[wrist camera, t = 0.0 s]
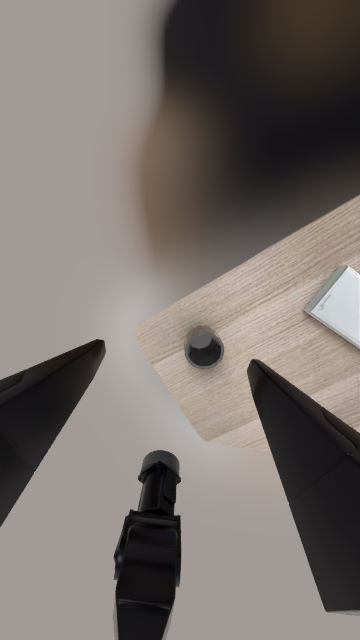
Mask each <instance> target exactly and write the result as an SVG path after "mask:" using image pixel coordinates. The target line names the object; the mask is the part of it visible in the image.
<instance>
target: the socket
mask: <svg viewBox="0 0 360 640" xmlns="http://www.w3.org/2000/svg"><path fill="white" fill-rule="evenodd" d="M223 355H224V345H223V343H222V341H221V340H220V338H219V337H218V335H217V334H216V333H215V332H214V331H213V330H212V329H211V328H209V327H206V326H197V327H194V328H193V329H191V330H190V331H189V332H188V333H187V335H186V337H185V356H186V358H187V360H188V362H189V363H190V364H191V365H193V366H194V367H196V368H200V369H209V368H212V367H214V366H216V365H217V364H218V363H219V362H220V361H221V360H222V357H223Z"/></svg>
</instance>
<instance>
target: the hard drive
mask: <svg viewBox="0 0 360 640" xmlns="http://www.w3.org/2000/svg"><path fill="white" fill-rule="evenodd" d="M304 311H305V312H306V313H308V314H309V315H311V316H312V317H314V318H315V319H317V320H318V321H319V322H321V323H322V324H324V325H325V326H327V327H328V328H330V329H331V330H333V331H334V332H336V333H337V334H339V335H340V336H342V337H343V338H344V339H346V340H347V341H349V342H350V343H352V344H353V345H355V346H356V347H358V348H359V349H360V274H359V273H357V272H356V271H355V270H353V269H352V268H351V267H349V266H340V267H339V268H338V269H337V270H336V271H335V272H334V274H333V275H332V276H331V277H330V278H329V280H328V281H327V282H326V283H325V284H324V286H323V287H322V288H321V289H320V290H319V292H318V293H317V294H316V295H315V297H314V298H313V299H312V300H311V301H310V303H309V304H308V305H307V306H306V308H305V309H304Z"/></svg>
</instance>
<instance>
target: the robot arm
mask: <svg viewBox="0 0 360 640" xmlns="http://www.w3.org/2000/svg"><path fill="white" fill-rule="evenodd" d="M105 353H106V349H105V342H104V340H99V339H96V340H94V341H91V342H89V343H87V344H85V345H82V346H80V347H77V348H75V349H73V350H70V351H68V352H66V353H63V354H61V355H59V356H56V357H54V358H51V359H50V360H47V361H45V362H42V363H40V364H37V365H35V366H33V367H30V368H28V369H26V370H24V371H21V372H19V373H17V374H14V375H11V376H9V377H7V378H4V379H2V380H0V526H1V525H2V524H3V522H4V520H5V519H6V517H7V515H8V514H9V512H10V511H11V509H12V508H13V506H14V504H15V503H16V501H17V500H18V498H19V497H20V495H21V493H22V492H23V490H24V488H25V487H26V485H27V484H28V482H29V481H30V479H31V477H32V475H33V474H34V472H35V471H36V469H37V468H38V466H39V464H40V463H41V461H42V460H43V458H44V456H45V455H46V453H47V452H48V450H49V448H50V447H51V445H52V444H53V442H54V440H55V439H56V437H57V436H58V434H59V432H60V431H61V429H62V427H63V426H64V424H65V423H66V421H67V420H68V418H69V416H70V414H71V413H72V412H73V410H74V409H75V407H76V405H77V404H78V402H79V401H80V399H81V397H82V396H83V394H84V393H85V391H86V389H87V388H88V386H89V384H90V383H91V381H92V380H93V378H94V376H95V374H96V372H97V370H98V368H99V366H100V364H101V362H102V360H103V358H104V356H105ZM247 374H248V379H249V383H250V387H251V392H252V396H253V399H254V402H255V405H256V408H257V411H258V414H259V417H260V420H261V423H262V426H263V429H264V432H265V435H266V438H267V441H268V444H269V447H270V450H271V452H272V455H273V458H274V461H275V464H276V467H277V470H278V473H279V476H280V479H281V482H282V485H283V488H284V491H285V494H286V496H287V500H288V502H289V506H290V509H291V512H292V515H293V518H294V520H295V524H296V526H297V530H298V532H299V535H300V538H301V541H302V544H303V547H304V550H305V553H306V556H307V559H308V562H309V565H310V568H311V571H312V574H313V576H314V580H315V583H316V585H317V588H318V591H319V594H320V597H321V600H322V603H323V605H324V608H325V610H326V612H329V613H337V614H346V615H355V616H360V433H359V432H357V431H356V430H354V429H353V428H351V427H350V426H349V425H347V424H346V423H344V422H343V421H341V420H340V419H339V418H337V417H336V416H335V415H333V414H332V413H330V412H329V411H328V410H326V409H325V408H324V407H322V406H321V405H320V404H318V403H317V402H316V401H314V400H313V399H311V398H310V397H309V396H307V395H306V394H305V393H303V392H302V391H301V390H299V389H298V388H297V387H295V386H294V385H293V384H291V383H290V382H288V381H287V380H286V379H284V378H283V377H282V376H280V375H279V374H278V373H276V372H275V371H274V370H272V369H271V368H270V367H268V366H267V365H266V364H264V363H263V362H261V361H260V360H257V359H252V360H251V362H250V364H249V366H248V369H247ZM138 480H139V481H140V482H142V483H143V487H142V492H141V496H140V501H139V506H138V511H133V510H130V513H129V515H128V516H126V517H125V521H124V525H123V529H122V532H121V536H120V539H119V541H118V545H117V548H116V550H115V554H114V561H115V575H114V580H118V581H117V586H116V591H115V603H114V616H113V620H114V635H115V640H165V639H166V636H167V633H168V630H169V627H170V623H171V618H172V611H173V606H174V600H175V588H176V587H179V584H180V571H181V528H180V527H181V526H180V525H181V523H180V515H177V516H175V515H174V504H175V502H176V485H177V484H178V483H180V482H181V478H180V477H179V476H178V475H177V474H176V473H174V472H173V471H172V470H171V469H170V468H169V467H167V466H166V465H165V464H164V463H163V462H161V461H158V462H157V463H155V464H154V465H152V466H151V467H150V468H148V469H147V470H145V471H144V472H143V473H141V474H140V475H139V476H138Z"/></svg>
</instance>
